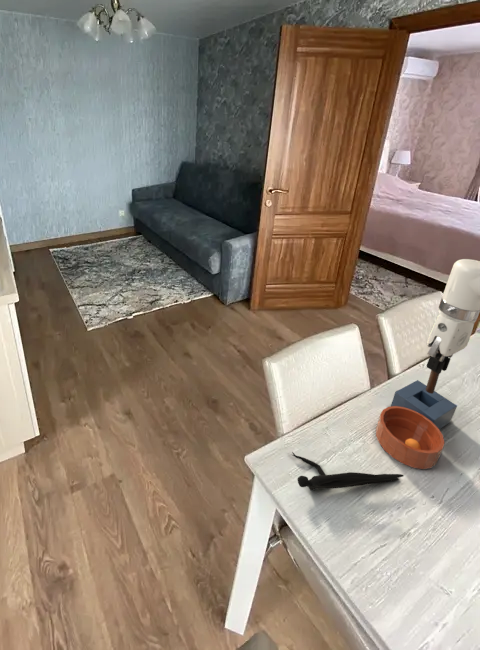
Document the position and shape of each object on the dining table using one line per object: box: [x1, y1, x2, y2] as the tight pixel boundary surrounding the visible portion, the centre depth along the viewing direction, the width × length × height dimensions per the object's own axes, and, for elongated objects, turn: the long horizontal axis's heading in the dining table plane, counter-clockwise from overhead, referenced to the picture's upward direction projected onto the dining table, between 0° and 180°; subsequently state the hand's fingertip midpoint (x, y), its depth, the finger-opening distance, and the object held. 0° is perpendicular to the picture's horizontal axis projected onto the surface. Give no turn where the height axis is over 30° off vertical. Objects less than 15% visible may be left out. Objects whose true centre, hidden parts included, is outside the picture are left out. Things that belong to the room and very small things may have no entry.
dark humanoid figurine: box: [291, 451, 405, 491], centre depth 80 cm, size 8×9×25 cm
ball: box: [405, 439, 421, 450], centre depth 85 cm, size 3×3×3 cm
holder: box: [390, 379, 458, 430], centre depth 95 cm, size 10×10×6 cm
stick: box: [426, 351, 441, 393], centre depth 91 cm, size 2×2×13 cm
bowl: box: [375, 405, 445, 470], centre depth 87 cm, size 13×13×6 cm
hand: (436, 368), depth 90 cm, fingers closed on stick, 1 cm apart
